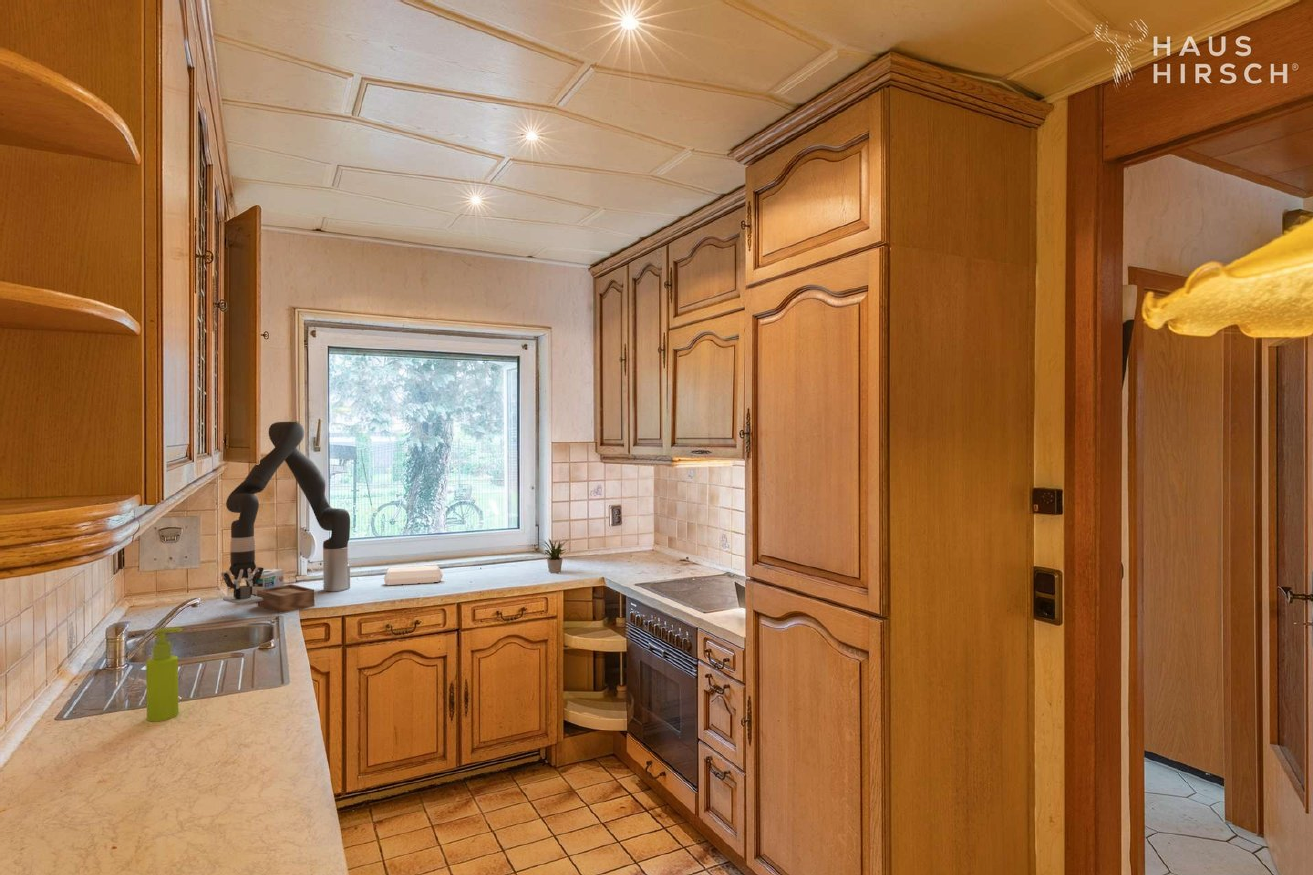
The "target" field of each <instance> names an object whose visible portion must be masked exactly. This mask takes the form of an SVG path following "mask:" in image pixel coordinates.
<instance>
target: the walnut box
mask: <svg viewBox="0 0 1313 875" xmlns="http://www.w3.org/2000/svg"><path fill="white" fill-rule="evenodd" d="M257 597H261V598H263V600H262V601H257V603H256V605H257V607H258V608H262V609H265V610H269V611H272V612H276V613H279V614H282V613H287V612H291V611H296V610H300V609H306V608H310V607H314V606H315V589H312V588H309V587H305V586H300V585H296V584H292V583H291V584H284V586H279V587H273V588H268V589H262V590H257Z"/></svg>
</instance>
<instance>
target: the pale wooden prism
mask: <svg viewBox="0 0 1313 875" xmlns="http://www.w3.org/2000/svg"><path fill="white" fill-rule="evenodd" d="M443 575H444V574H443V573H442V570H441V568H440V567H439V565H436V564H435V565H422V566H421V565H420V566H419V565H418V566H400V567H399V566H398V567H389V568H388V569H387V571H386V572H385V575H384V577H383V580H384V583H385V585H386V586H397V585H398V586H400V585H401V586H402V584H403V585H416V584H417V585H418V583H420V584H435V583H434V582H438V583H439V582H440V581H441V580H442V579H443Z"/></svg>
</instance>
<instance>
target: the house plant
mask: <svg viewBox="0 0 1313 875" xmlns="http://www.w3.org/2000/svg"><path fill="white" fill-rule="evenodd" d="M539 540H541V541H542V542H543V543H542V546H544V548H546V549H545V550H543V551H542V552H543V553H544V556H546V555H548V558H547V559H546V561H547V568H548V573H549V572H551V573H550V574H559V573H558V572H560V573H561V571H562V565H563V557H561V556H562V555H563V554H564V553H565V549H562V547H563V546H564V545H565V544H566V543H567V542H568V540H566V541H564V542H561V540H559V542H558V544H557V541H554V543H553V542H552V540H551V539H550V538H548V542H549V544H548V543H547V542H546V541H545V540H544V539H539ZM556 544H557V547H556ZM563 551H564V552H563Z"/></svg>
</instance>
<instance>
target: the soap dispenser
mask: <svg viewBox="0 0 1313 875" xmlns="http://www.w3.org/2000/svg"><path fill="white" fill-rule="evenodd" d="M183 629H184V628H182V627H174V626H173V627H171V626H169V627H162V628H156V629H155V630H153V631H152V634H153V635H156V639H157V640H156V641H157V642H155V643H154V644H153V645H152V657H151V658H149V659H148V660H146V662H145V665H146V666H145V669H146V670H145V672H146V676H145V677H146V679H145V680H146V684H145V685H146V720H147V722H148V721H149V722H164V721H167V720H171V719H173V718H175V717H177V716H178V715H179V664H178V662H179V660H178V659H179V657H178V656H177V655H174V654H173V655H172V643H171V641H169V640H167V633H179V634H180V632H182V631H183Z"/></svg>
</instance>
